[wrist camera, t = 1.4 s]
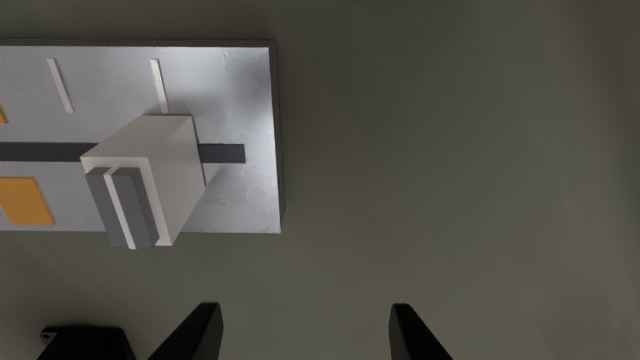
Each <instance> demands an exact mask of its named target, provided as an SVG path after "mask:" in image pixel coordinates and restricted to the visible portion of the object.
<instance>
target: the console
mask: <svg viewBox="0 0 640 360" xmlns="http://www.w3.org/2000/svg"><path fill="white" fill-rule="evenodd" d="M140 115H152V116H191V117H192V122H193V127H194V132H195V138H196V143H197V148H198V153H199V159H200V164H201V169H202V175H203V180H204V185H205V190H204V192H203V194H202V195H201V197H200V199H199V200H198V202H197V204H196V205H195V207H194V209H193V211H192V212H191V214H190V216H189V217H188V219H187V221H186V222H185V224H184V226H183V227H182V229H181V231H180V232H217V233H281V228H282V223H283V217H284V211H285V199H284V181H283V163H282V145H281V128H280V110H279V92H278V74H277V56H276V40H184V39H30V38H0V230H15V231H106V230H105V227H104V225H103V222H102V219H101V217H100V214H99V212H98V209H97V206H96V204H95V201H94V199H93V196H92V194H91V191H90V188H89V186H88V183H87V181H86V178H85V174H86V172H85V169H84V167H83V164H82V161H81V159H80V156H82V155H83V154H85V153H86V152H88V151H89V150H91V149H92V148H94V147H95V146H96V145H98V144H99V143H101V142H102V141H104V140H105V139H107V138H108V137H110V136H111V135H112V134H114V133H115V132H117V131H118V130H120V129H121V128H123V127H124V126H126V125H127V124H128V123H130V122H131V121H133V120H134V119H136V118H137V117H139V116H140Z"/></svg>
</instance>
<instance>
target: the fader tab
mask: <svg viewBox="0 0 640 360" xmlns="http://www.w3.org/2000/svg"><path fill="white" fill-rule="evenodd" d="M80 159H81V161H82V164H83V167H84V169H85V172H86V174H85V178H86V181H87V183H88V186H89V188H90V191H91V194H92V196H93V199H94V201H95V204H96V206H97V209H98V212H99V214H100V217H101V219H102V222H103V225H104V227H105V230H106V232H107V235H108V237H109V240H110V243H111V245H112V247H129V249H136V248H153V247H154V246H155V245H168V246H172V244H173V243H174V241H175V239H176V237H177V236H178V234H179V232H180V231H181V229H182V227H183V226H184V224H185V222H186V221H187V219H188V217H189V216H190V214H191V212H192V211H193V209H194V207H195V205H196V204H197V202H198V200H199V199H200V197H201V195H202V194H203V192H204V190H205V185H204V180H203V175H202V169H201V164H200V159H199V153H198V148H197V143H196V138H195V132H194V127H193V122H192V117H191V116H152V115H140V116H139V117H137V118H136V119H134V120H133V121H131V122H130V123H128V124H127V125H126V126H124V127H123V128H121V129H120V130H118V131H117V132H115V133H114V134H112V135H111V136H110V137H108V138H107V139H105V140H104V141H102V142H101V143H99V144H98V145H96V146H95V147H94V148H92V149H91V150H89V151H88V152H86V153H85V154H83V155H82V156H80Z"/></svg>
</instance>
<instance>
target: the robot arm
mask: <svg viewBox="0 0 640 360" xmlns="http://www.w3.org/2000/svg"><path fill="white" fill-rule="evenodd" d="M222 334H223V319H222V314H221V309H220V305H219V303H218V302H216V301H203V302H201V303H200V304H199V305H198V306H197V307H196V308H195V309H194V310H193V311H192V312H191V313H190V314H189V315H188V316H187V318H186V319H185V320H184V321H183V322H182V323H181V324H180V325H179V326H178V327H177V328H176V329H175V330H174V331H173V332H172V333H171V334H170V335H169V336H168V337H167V339H166V340H165V341H164V342H163V343H162V344H161V345H160V346H159V347H158V348H157V349H156V350H155V351H154V352H153V353H152V354H151V355H150V356H149V357H148V358H147V360H218V356H219V350H220V345H221V340H222ZM40 337H41V339H42V340H43V342H44V344H45V345H46V348H45V349H44V351H43V352H42V353H41V355H40V356H39V357H38V359H37V360H135V359H134V357H133V355H132V352H131V350H130V348H129V346H128V343H127V341H126V339H125V336H124V334H123V332H122V331H121V330H118V329H83V328H45V329H43V331H42V332H41V333H40ZM389 340H390V348H391V357H392V360H453V359H452V357H451V356H450V355H449V354H448V352H447V351H446V350H445V349H444V347H443V346H442V345H441V344H440V342H439V341H438V340H437V339H436V337H435V336H434V335H433V333H432V332H431V331H430V330H429V328H428V327H427V326H426V325H425V323H424V322H423V321H422V320H421V318H420V317H419V316H418V314H417V313H416V312H415V311H414V309H413V308H412V307H411V306H410V305H409V304H406V303H394V304H393V305H392V307H391V313H390V320H389Z"/></svg>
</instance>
